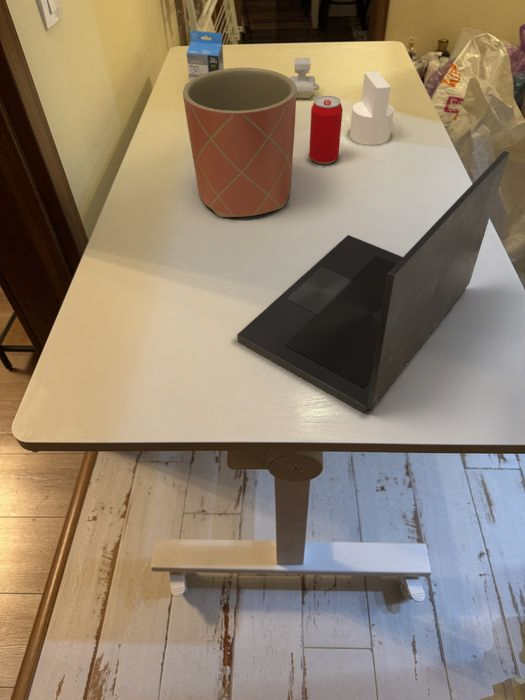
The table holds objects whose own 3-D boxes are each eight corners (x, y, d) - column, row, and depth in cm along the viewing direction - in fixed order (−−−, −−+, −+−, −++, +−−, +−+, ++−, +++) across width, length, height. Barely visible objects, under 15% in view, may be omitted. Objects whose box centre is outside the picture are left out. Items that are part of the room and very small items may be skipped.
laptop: (237, 341, 75) (236, 334, 73) (347, 241, 90) (348, 234, 89) (364, 413, 66) (366, 406, 64) (461, 289, 81) (464, 281, 80)
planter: (189, 178, 106) (175, 73, 91) (278, 165, 109) (279, 62, 94) (205, 230, 93) (192, 119, 79) (306, 213, 96) (311, 103, 82)
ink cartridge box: (189, 86, 138) (183, 35, 129) (194, 81, 141) (189, 30, 132) (220, 90, 136) (216, 37, 127) (225, 84, 139) (222, 32, 130)
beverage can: (338, 152, 112) (343, 94, 103) (338, 166, 108) (343, 107, 99) (309, 151, 113) (312, 94, 104) (308, 165, 109) (311, 107, 100)
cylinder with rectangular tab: (395, 143, 115) (405, 86, 106) (355, 146, 114) (362, 89, 105) (382, 125, 121) (391, 70, 112) (345, 128, 120) (350, 73, 111)
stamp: (283, 101, 131) (283, 65, 125) (284, 90, 135) (285, 55, 129) (318, 101, 130) (320, 65, 124) (319, 91, 135) (321, 55, 128)
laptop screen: (386, 272, 49) (394, 275, 49) (503, 150, 65) (509, 152, 65) (366, 406, 64) (371, 409, 64) (464, 281, 80) (469, 283, 80)
